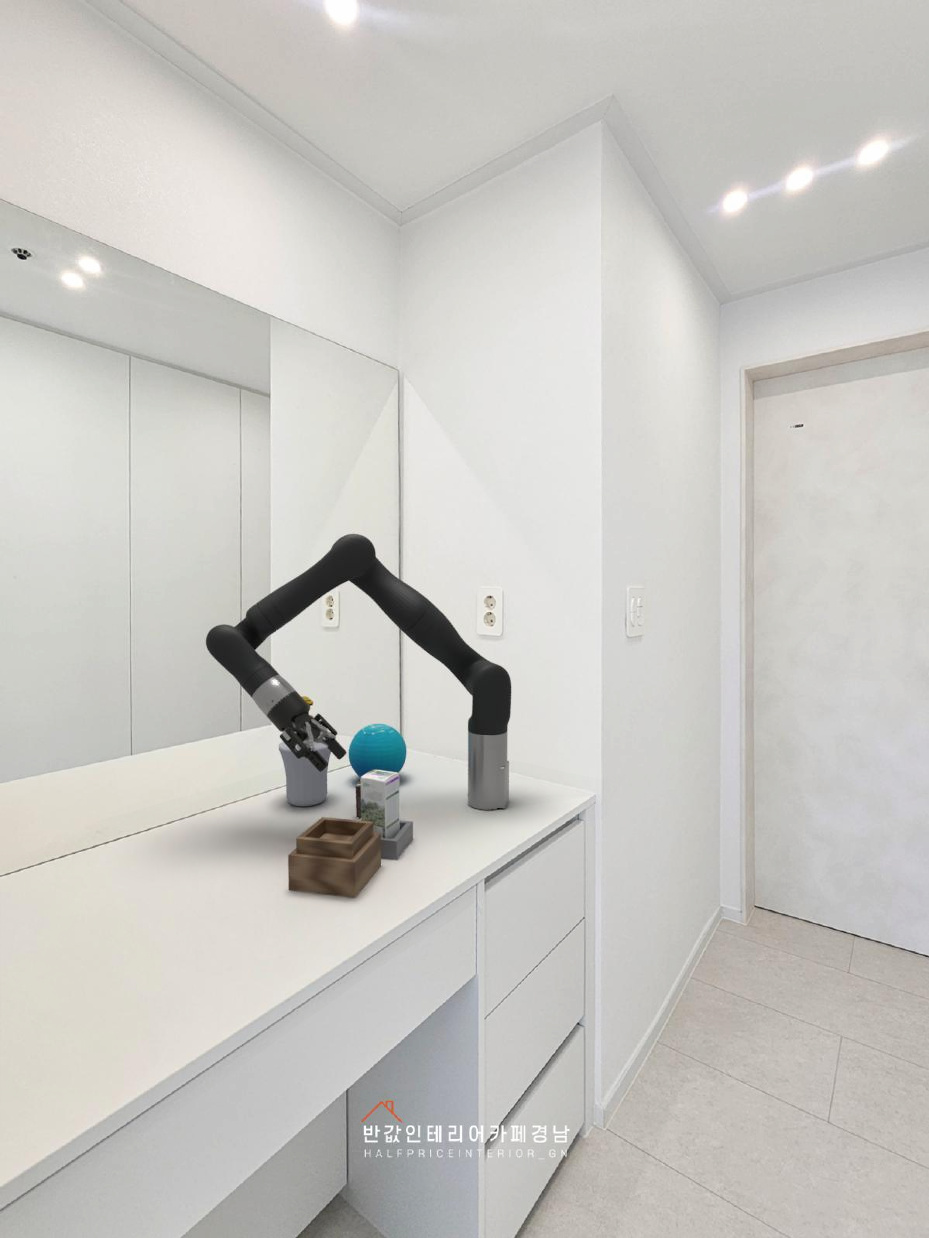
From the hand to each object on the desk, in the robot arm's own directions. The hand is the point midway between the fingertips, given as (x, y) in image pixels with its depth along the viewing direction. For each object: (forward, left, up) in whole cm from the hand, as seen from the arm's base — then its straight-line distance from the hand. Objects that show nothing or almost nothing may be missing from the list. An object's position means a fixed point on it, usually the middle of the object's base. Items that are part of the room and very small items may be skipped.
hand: (334, 762), depth 124 cm
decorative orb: (+5, -38, -16) cm, 42 cm away
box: (-2, -16, -16) cm, 23 cm away
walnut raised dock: (-7, +14, -16) cm, 22 cm away
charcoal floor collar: (-10, 0, -16) cm, 19 cm away
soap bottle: (+16, -20, -16) cm, 30 cm away
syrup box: (-10, 0, -16) cm, 19 cm away
